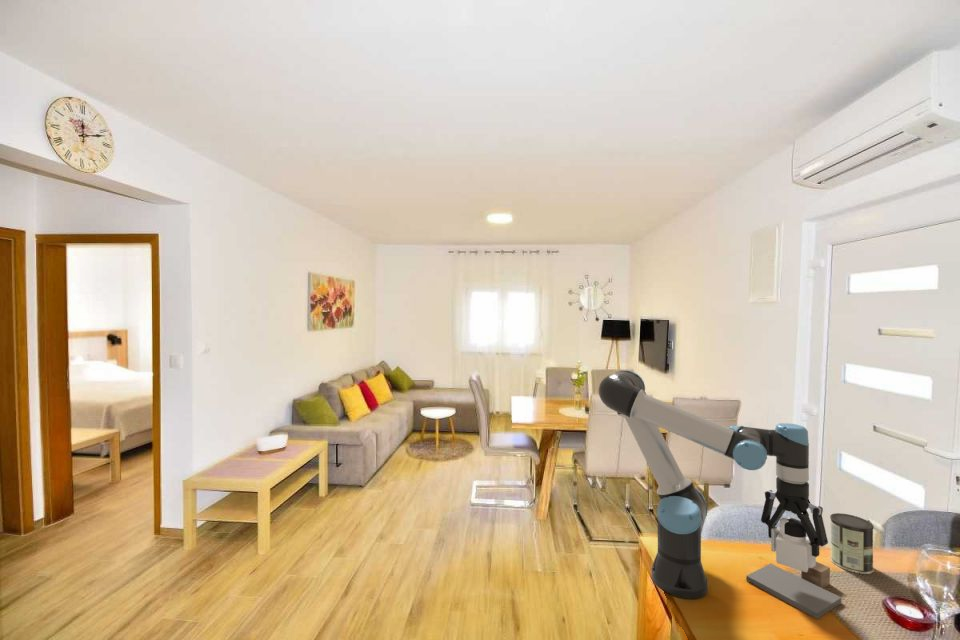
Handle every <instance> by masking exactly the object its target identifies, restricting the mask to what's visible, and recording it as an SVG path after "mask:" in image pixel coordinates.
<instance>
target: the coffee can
mask: <svg viewBox="0 0 960 640" xmlns="http://www.w3.org/2000/svg"><path fill="white" fill-rule="evenodd" d="M829 517H830V560H831V562H832V563H833V564H834V565H836V566H837V567H839V568H841V569H843V570H845V571H848V572H851V573H854V572H855V574H859V573H860V574H859V575H871V574H872V573H874V528H875V527H874V524H873V523H872V522H870V521H869V520H867V519H864V518H861V517H859V516H857V515H851V514H848V513H839V512H838V513H832V514H830V515H829Z"/></svg>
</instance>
